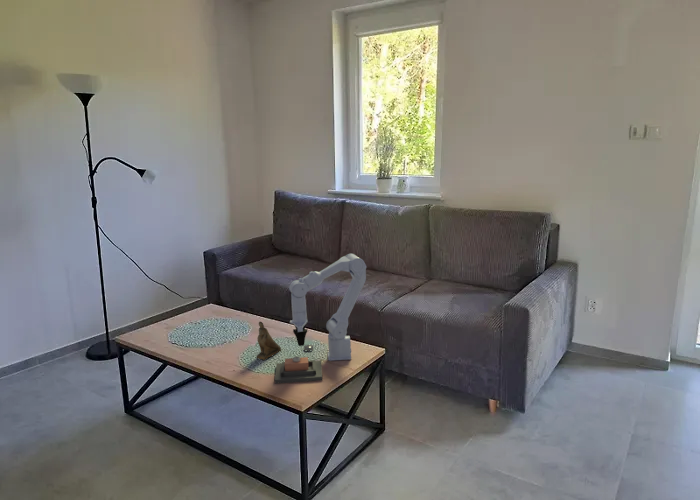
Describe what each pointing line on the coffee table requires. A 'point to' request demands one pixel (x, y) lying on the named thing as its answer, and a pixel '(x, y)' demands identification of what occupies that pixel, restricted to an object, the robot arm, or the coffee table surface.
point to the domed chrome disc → (308, 347)
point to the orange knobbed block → (296, 364)
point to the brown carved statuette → (266, 343)
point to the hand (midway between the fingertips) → (301, 341)
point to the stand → (299, 373)
